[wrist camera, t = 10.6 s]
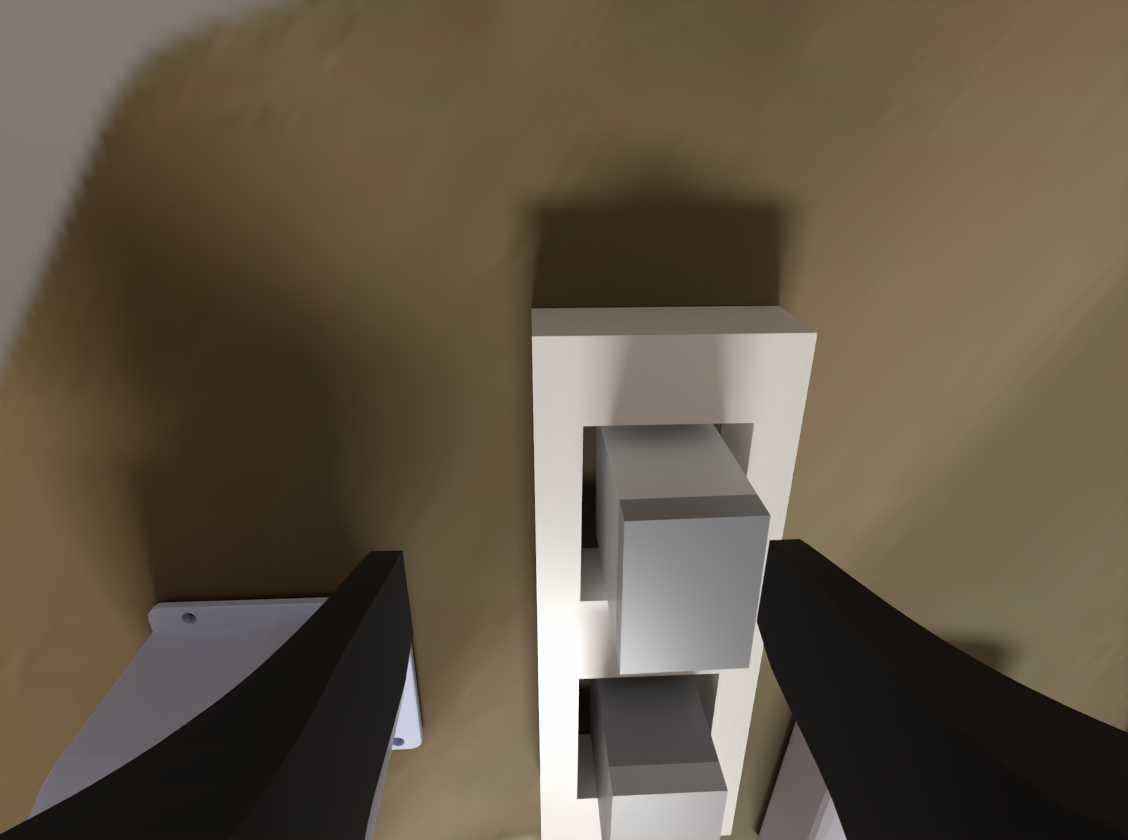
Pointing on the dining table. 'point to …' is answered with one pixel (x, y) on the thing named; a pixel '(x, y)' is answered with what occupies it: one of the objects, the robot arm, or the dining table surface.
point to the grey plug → (678, 547)
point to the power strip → (565, 570)
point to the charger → (800, 799)
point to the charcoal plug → (654, 760)
